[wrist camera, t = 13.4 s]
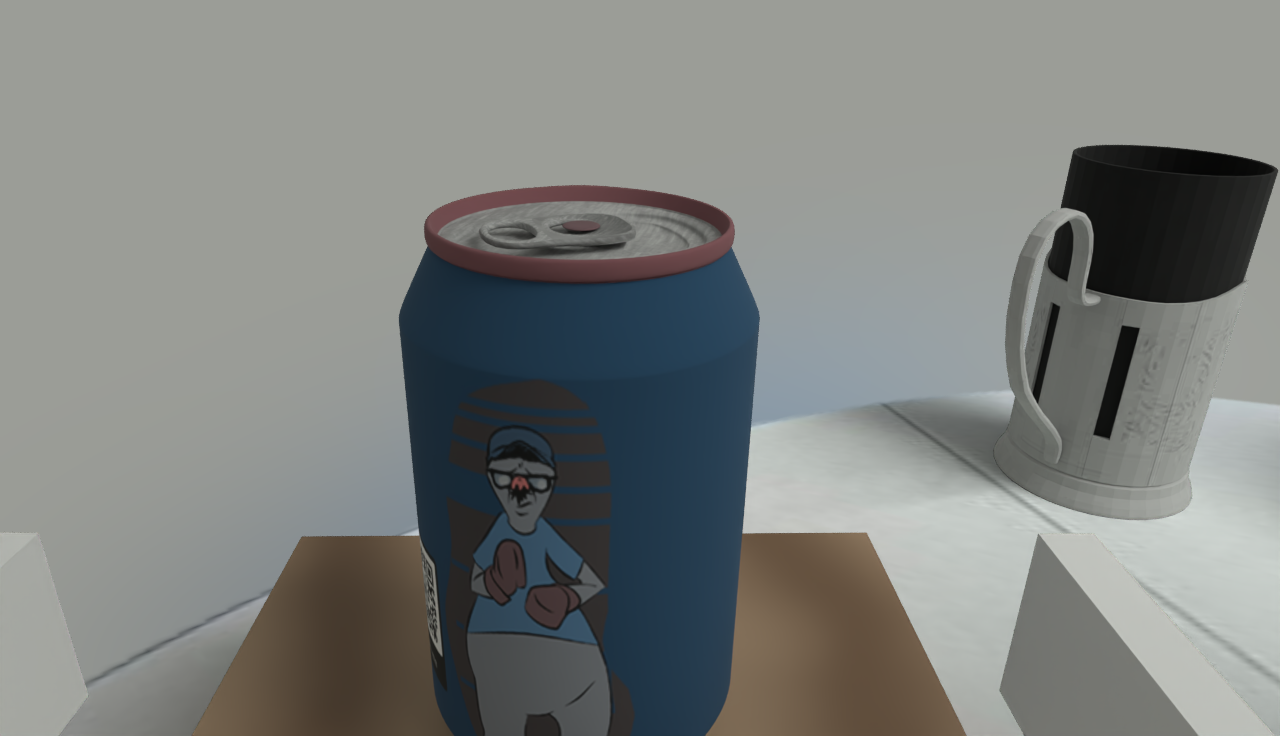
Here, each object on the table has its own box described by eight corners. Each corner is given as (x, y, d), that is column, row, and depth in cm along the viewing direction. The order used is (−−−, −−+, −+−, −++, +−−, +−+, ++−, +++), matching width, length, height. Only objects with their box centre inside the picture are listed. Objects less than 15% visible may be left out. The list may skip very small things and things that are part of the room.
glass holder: (1225, 482, 41) (1333, 166, 35) (1064, 588, 33) (1168, 206, 27) (1053, 413, 47) (1119, 137, 41) (886, 489, 40) (937, 163, 34)
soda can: (664, 588, 25) (680, 172, 20) (779, 777, 19) (842, 251, 14) (420, 641, 23) (373, 188, 18) (464, 875, 17) (412, 290, 12)
